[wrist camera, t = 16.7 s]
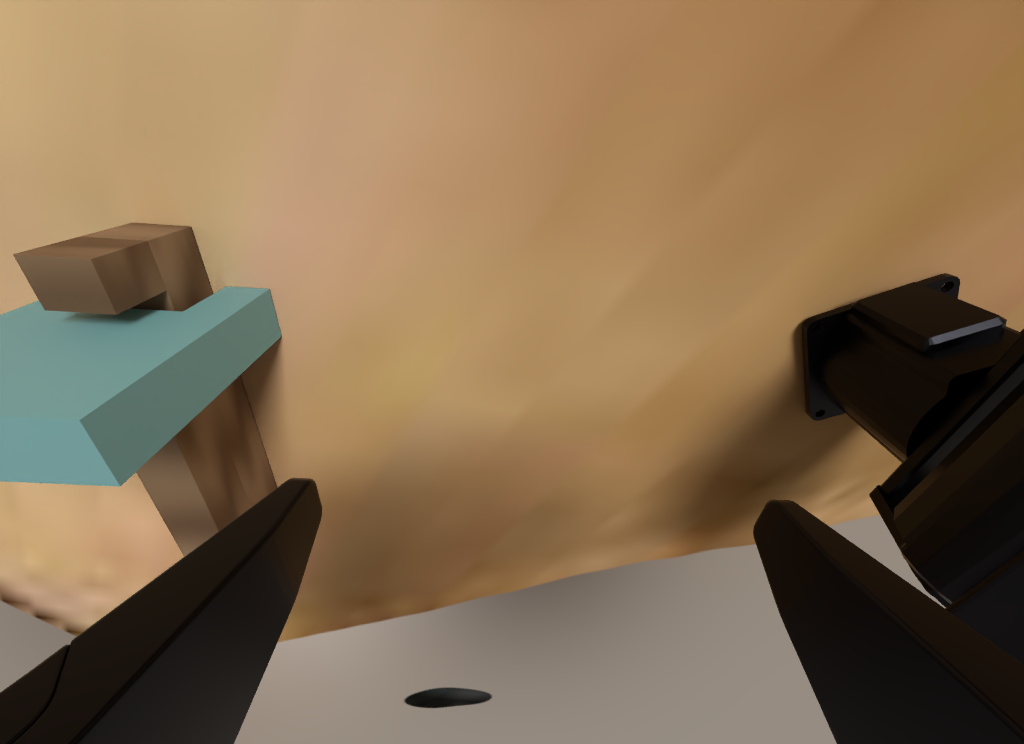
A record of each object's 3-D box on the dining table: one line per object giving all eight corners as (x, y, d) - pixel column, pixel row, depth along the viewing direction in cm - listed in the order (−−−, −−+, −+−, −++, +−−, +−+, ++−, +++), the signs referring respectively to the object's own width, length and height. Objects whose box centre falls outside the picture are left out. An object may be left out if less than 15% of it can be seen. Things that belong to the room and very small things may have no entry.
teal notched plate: (269, 288, 19) (79, 420, 11) (281, 336, 21) (120, 486, 12) (95, 278, 19) (-237, 405, 11) (119, 327, 21) (-161, 474, 12)
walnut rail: (132, 222, 18) (12, 254, 14) (191, 226, 18) (90, 259, 14) (252, 524, 28) (206, 596, 24) (289, 526, 28) (250, 598, 24)
